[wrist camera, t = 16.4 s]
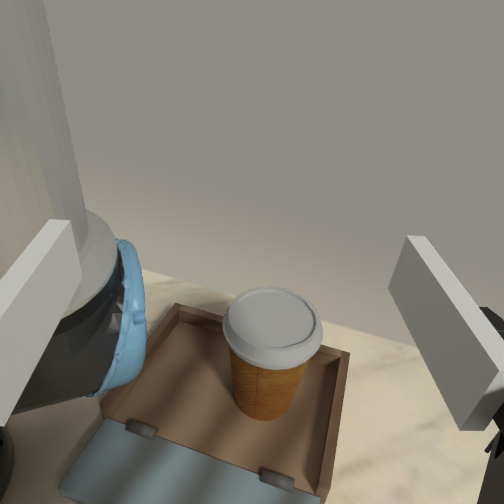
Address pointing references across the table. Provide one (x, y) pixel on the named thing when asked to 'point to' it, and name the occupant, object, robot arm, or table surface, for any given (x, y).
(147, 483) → the shallow wooden crate
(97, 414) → the table surface
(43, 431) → the table surface
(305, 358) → the disposable coffee cup
